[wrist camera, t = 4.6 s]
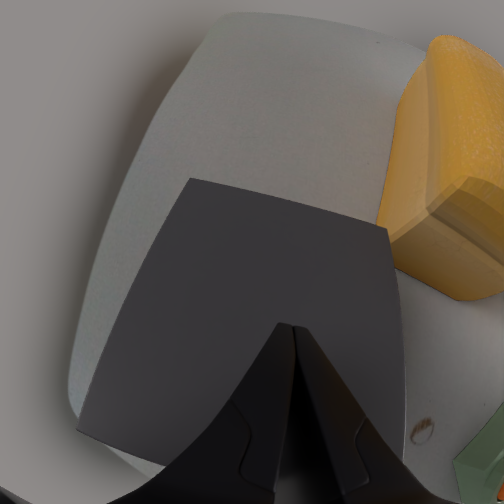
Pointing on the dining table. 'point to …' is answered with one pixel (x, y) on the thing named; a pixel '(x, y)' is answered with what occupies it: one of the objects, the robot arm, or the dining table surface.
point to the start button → (501, 493)
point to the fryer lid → (245, 317)
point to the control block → (483, 464)
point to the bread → (449, 173)
